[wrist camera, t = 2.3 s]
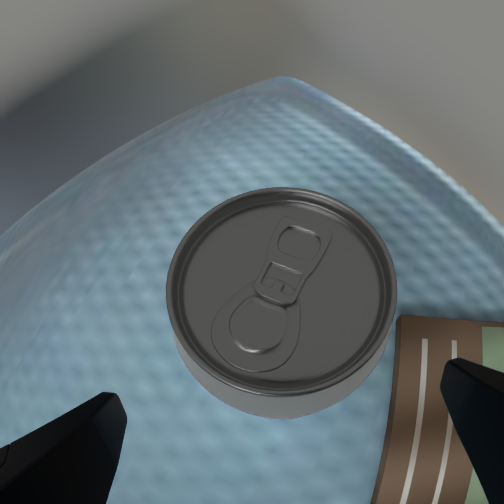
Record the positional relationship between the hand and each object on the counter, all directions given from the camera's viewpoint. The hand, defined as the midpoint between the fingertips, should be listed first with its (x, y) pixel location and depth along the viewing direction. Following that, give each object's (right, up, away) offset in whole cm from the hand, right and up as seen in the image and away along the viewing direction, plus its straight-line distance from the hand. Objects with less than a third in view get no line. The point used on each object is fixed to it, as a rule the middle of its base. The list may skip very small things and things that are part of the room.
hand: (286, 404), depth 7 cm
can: (+1, -3, +11) cm, 11 cm away
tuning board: (+15, -8, +6) cm, 18 cm away
